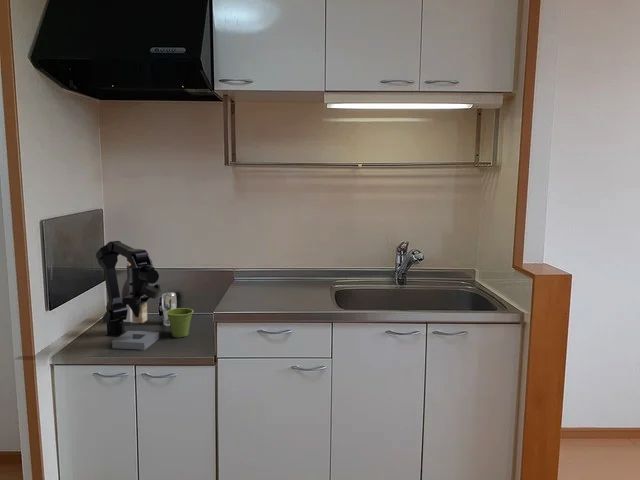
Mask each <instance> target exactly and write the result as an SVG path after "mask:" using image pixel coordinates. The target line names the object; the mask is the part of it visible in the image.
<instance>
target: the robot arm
mask: <svg viewBox="0 0 640 480" xmlns="http://www.w3.org/2000/svg"><path fill="white" fill-rule="evenodd" d="M119 255H121V256H122V257H125V258H126V261H127V263H130V264H131V265H130V266H129V268H131V274H132V282H131V283H130V285H132V292H130V295H133V296H126V297H124V298H123V299H122V297H121V295H120V294H121V293H120V288H119V281H118V276H117V269H116V266H117V264H118V260H119V259H118V257H119ZM95 256H96V260H97V262H98V263H97V264H98V265H99V266H100V267H101V268H102V270H103V274H104V280H105V285H106V292H107V298H108V301H107V304H106V306H105V313H104V315H103V316H102V320H103V321H102V322H103V323H105V324H106V333H105V336H107V337H120V336H121V335H123V334H124V333H126V330H125V325H124V323H123V320H126V318H127V313H128V310H127V306H126V305H129V307H130V308H131V310H132V311H133V313H134V315H135V317H139V309H140V305H141V304H142V303H143V302H147V303H148V301H149V300H151V299H154V300H155V299H156V298H158V297H159V295H160V293H161V291H162V290H161V285H160V284H158V283H157V282H158V280H159V278H160V274H159V272H158V271H157V270H155V267H154V264H153V261H152V259H151V258H150V255H149V253H148V251H147V250H146V249H142V248H133V247H131V246H130V245H127V244H125V243H123V242H122V241H120V240H113V241H112V240H111V241H108V242H107V243H106V245H103V246H102V247H100V248H99V249H98V250H97V251H96V253H95ZM155 283H156V284H155ZM150 284H151V285H150ZM153 284H155V285H153Z"/></svg>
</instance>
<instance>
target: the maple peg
mask: <svg viewBox="0 0 640 480" xmlns="http://www.w3.org/2000/svg"><path fill="white" fill-rule="evenodd" d="M147 321H148V301H147V302H143V303H142V304H141V305H140V309H139V317H135V315H134V313H133V311H132V322H133V323H138V324H143V323H146V322H147Z"/></svg>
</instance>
